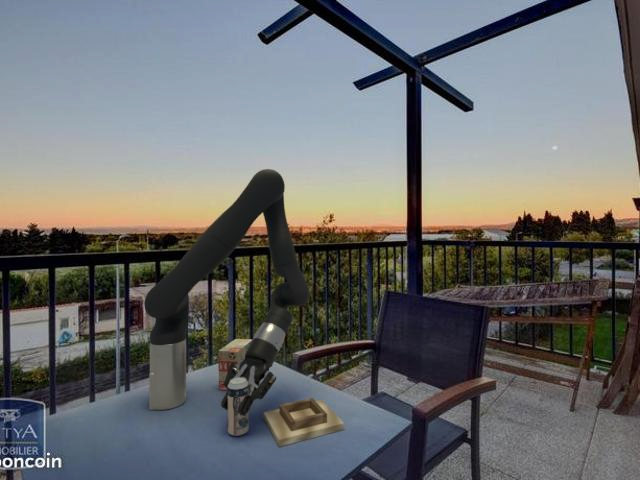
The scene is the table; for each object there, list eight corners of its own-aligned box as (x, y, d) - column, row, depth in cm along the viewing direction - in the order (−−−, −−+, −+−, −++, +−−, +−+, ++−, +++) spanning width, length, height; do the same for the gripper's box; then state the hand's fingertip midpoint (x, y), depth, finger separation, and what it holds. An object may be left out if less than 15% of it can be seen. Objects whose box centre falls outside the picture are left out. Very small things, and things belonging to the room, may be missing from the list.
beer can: (238, 439, 75) (237, 386, 75) (223, 433, 78) (223, 381, 78) (253, 429, 79) (252, 379, 79) (238, 423, 82) (238, 374, 82)
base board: (279, 446, 72) (279, 430, 72) (263, 418, 84) (263, 404, 84) (344, 429, 79) (344, 414, 79) (321, 405, 91) (321, 392, 91)
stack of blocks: (246, 365, 121) (246, 331, 121) (263, 366, 120) (262, 331, 120) (218, 391, 100) (218, 350, 100) (237, 392, 99) (237, 351, 99)
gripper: (238, 333, 88) (201, 397, 78) (281, 341, 81) (247, 413, 71) (252, 347, 93) (219, 410, 83) (294, 356, 86) (264, 426, 75)
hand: (232, 410), depth 77 cm, fingers closed on beer can, 4 cm apart
